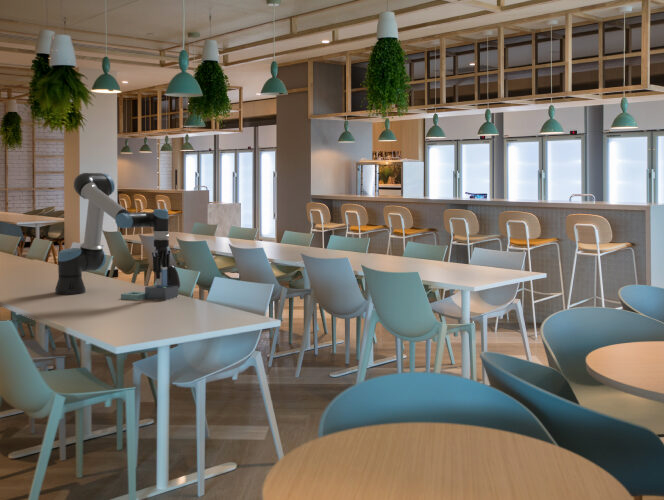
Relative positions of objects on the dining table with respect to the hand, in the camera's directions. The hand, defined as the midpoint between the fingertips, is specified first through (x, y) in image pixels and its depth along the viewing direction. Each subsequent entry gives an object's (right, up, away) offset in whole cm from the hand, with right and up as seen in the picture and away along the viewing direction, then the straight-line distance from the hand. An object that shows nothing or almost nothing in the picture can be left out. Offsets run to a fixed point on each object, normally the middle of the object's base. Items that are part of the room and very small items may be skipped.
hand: (161, 284), depth 356 cm
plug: (0, -6, +1) cm, 6 cm away
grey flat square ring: (-13, -7, -1) cm, 15 cm away
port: (0, -7, +1) cm, 7 cm away
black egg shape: (+1, -6, +16) cm, 17 cm away
